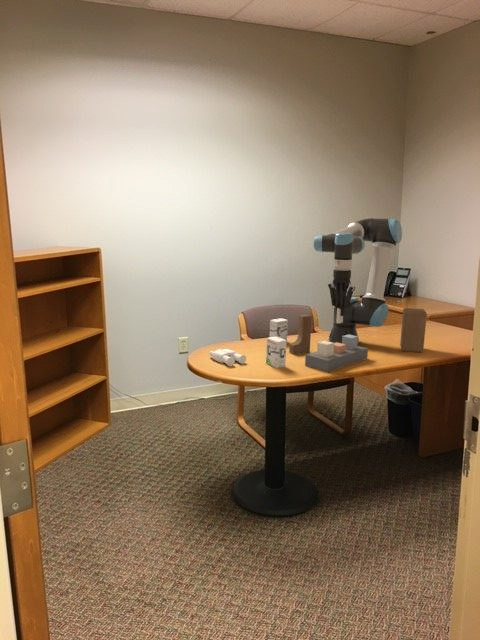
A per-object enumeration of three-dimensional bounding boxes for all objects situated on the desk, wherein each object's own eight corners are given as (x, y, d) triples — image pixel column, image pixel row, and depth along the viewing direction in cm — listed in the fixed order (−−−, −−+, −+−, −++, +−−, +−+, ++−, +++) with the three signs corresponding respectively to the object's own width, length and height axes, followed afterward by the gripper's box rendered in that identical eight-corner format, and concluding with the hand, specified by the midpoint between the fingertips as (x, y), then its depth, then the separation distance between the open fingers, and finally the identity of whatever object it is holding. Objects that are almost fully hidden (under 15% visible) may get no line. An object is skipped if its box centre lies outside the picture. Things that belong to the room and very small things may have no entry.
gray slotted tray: (305, 365, 222) (305, 354, 221) (345, 353, 242) (346, 343, 241) (327, 372, 213) (327, 360, 212) (367, 358, 234) (368, 348, 232)
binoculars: (227, 367, 218) (227, 357, 217) (206, 358, 231) (206, 348, 230) (246, 363, 224) (246, 353, 224) (225, 355, 237) (225, 345, 236)
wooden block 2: (423, 353, 245) (427, 312, 241) (401, 351, 247) (405, 311, 243) (420, 347, 255) (424, 308, 251) (399, 346, 257) (403, 307, 252)
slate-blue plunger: (341, 350, 233) (342, 336, 232) (347, 349, 236) (348, 334, 235) (350, 353, 230) (351, 338, 228) (356, 351, 233) (357, 336, 231)
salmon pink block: (329, 359, 228) (330, 344, 226) (335, 357, 231) (336, 342, 229) (338, 361, 224) (339, 346, 223) (345, 359, 227) (346, 344, 226)
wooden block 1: (293, 354, 238) (294, 317, 234) (288, 352, 242) (290, 315, 239) (310, 353, 242) (311, 316, 238) (305, 350, 246) (307, 314, 242)
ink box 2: (265, 363, 224) (266, 337, 222) (274, 361, 227) (275, 336, 225) (277, 368, 217) (277, 341, 215) (286, 366, 220) (287, 340, 217)
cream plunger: (316, 358, 221) (317, 342, 220) (323, 356, 224) (324, 340, 223) (326, 360, 217) (326, 344, 216) (333, 358, 221) (334, 342, 219)
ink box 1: (275, 344, 256) (276, 321, 254) (268, 342, 260) (269, 320, 257) (287, 342, 262) (288, 319, 259) (280, 340, 265) (281, 318, 263)
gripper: (324, 268, 221) (322, 321, 226) (350, 271, 212) (346, 326, 217) (335, 267, 226) (332, 319, 231) (360, 270, 217) (356, 324, 222)
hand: (339, 322), depth 224 cm, fingers closed
